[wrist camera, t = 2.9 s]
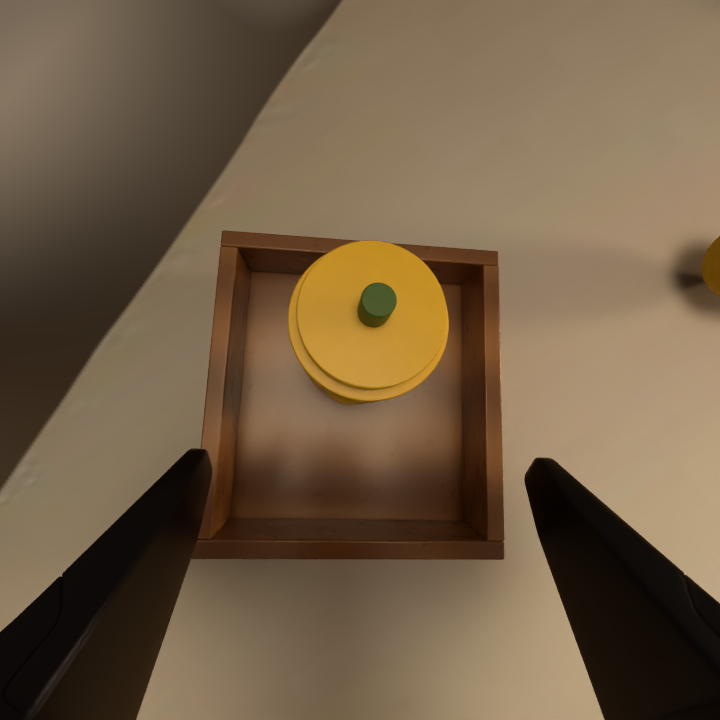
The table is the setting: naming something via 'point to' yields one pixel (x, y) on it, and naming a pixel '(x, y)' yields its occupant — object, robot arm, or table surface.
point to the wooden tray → (349, 425)
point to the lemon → (712, 267)
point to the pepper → (368, 322)
